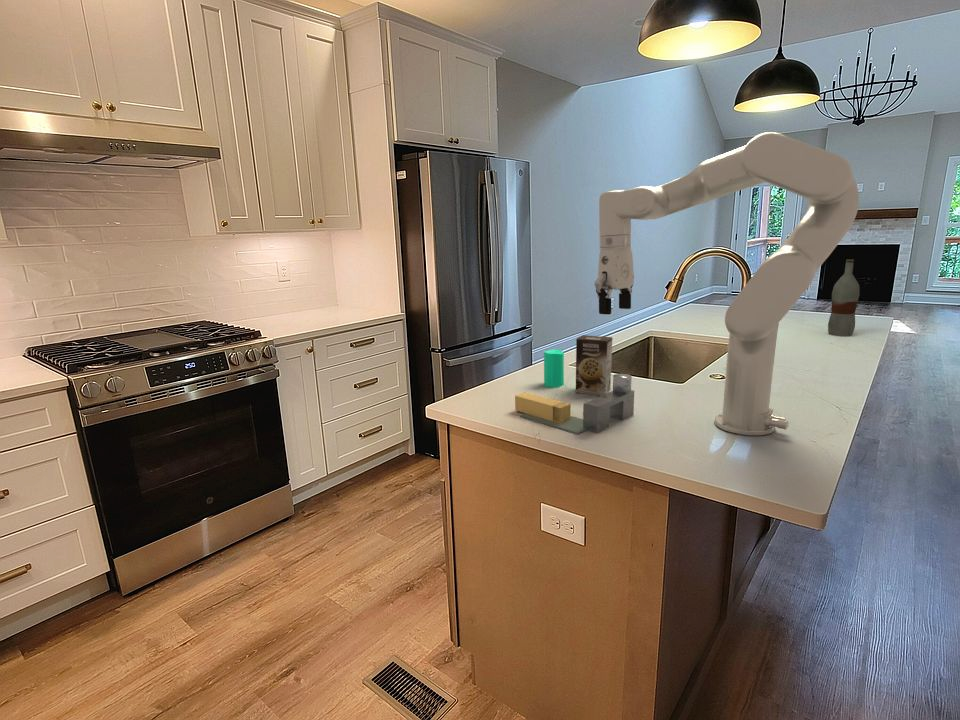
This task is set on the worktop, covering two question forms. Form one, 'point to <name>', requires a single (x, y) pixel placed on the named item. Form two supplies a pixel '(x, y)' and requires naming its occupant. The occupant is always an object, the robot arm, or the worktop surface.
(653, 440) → the worktop surface
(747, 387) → the robot arm
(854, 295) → the bottle
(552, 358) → the candle
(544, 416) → the yellow rectangular block
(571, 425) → the mat
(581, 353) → the coffee box
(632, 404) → the housing
